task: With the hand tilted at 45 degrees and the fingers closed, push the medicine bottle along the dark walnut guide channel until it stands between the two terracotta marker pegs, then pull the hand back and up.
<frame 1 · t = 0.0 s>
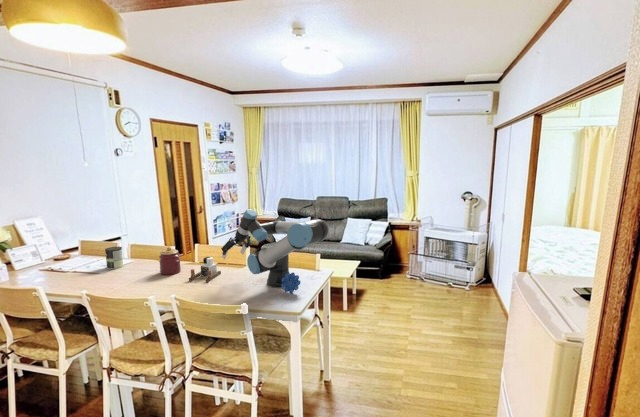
hand: (232, 255, 211), 15 cm above the table, tool tilted 35°, fingers open, 13 cm apart
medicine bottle: (209, 275, 220), on the table
coffee can: (115, 267, 239), on the table
grapes: (291, 292, 190), on the table
guide channel: (205, 277, 216), on the table
canister: (170, 272, 227), on the table
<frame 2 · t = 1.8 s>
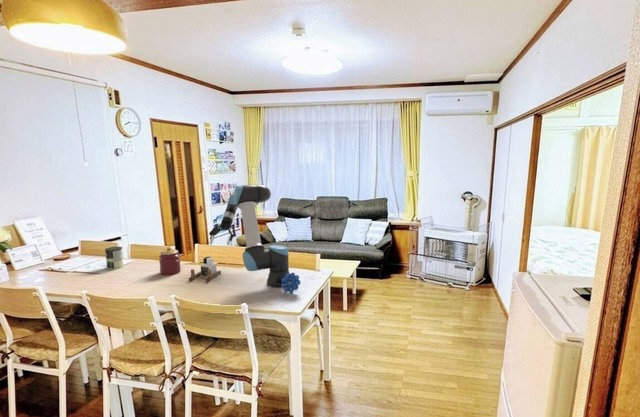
hand: (219, 244, 233), 17 cm above the table, tool tilted 45°, fingers open, 12 cm apart
nothing on the table moved.
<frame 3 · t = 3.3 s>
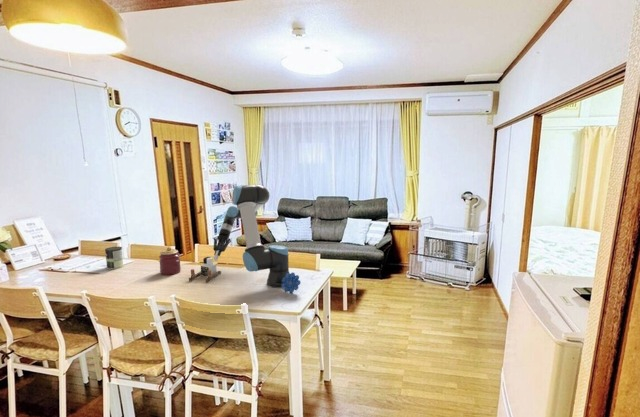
hand: (215, 259, 229), 7 cm above the table, tool tilted 45°, fingers closed
nothing on the table moved.
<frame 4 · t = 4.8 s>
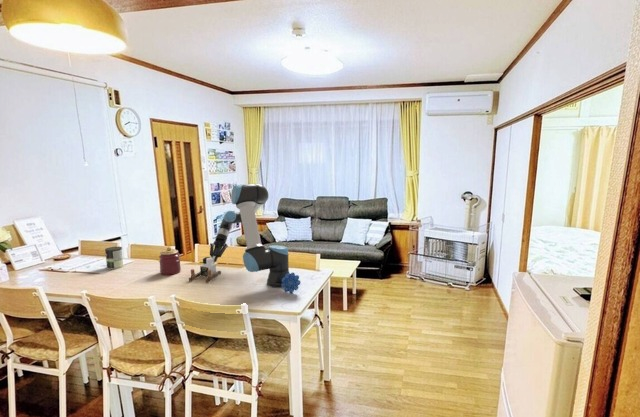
hand: (211, 265, 224), 5 cm above the table, tool tilted 45°, fingers closed
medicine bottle: (208, 275, 220), on the table, touching gripper
everything else where it was.
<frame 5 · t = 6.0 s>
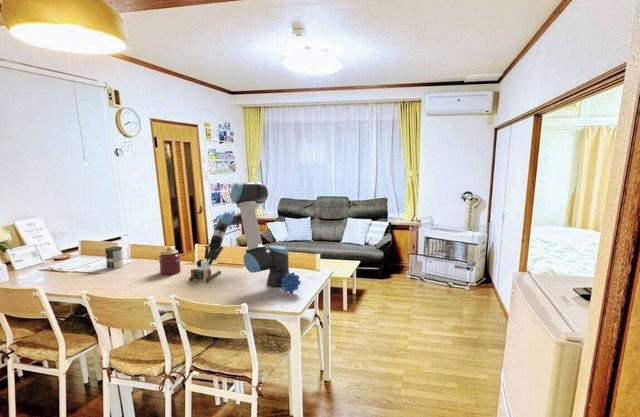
hand: (206, 268, 218), 5 cm above the table, tool tilted 45°, fingers closed
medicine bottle: (202, 278, 214), on the table, touching gripper
everything else where it was.
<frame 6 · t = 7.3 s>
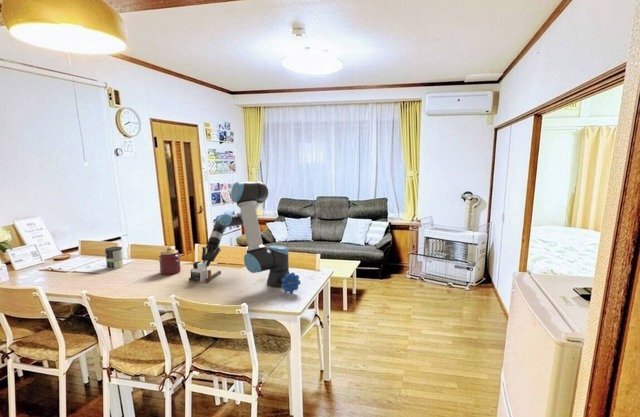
hand: (203, 270, 213), 5 cm above the table, tool tilted 45°, fingers closed
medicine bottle: (199, 281, 210), on the table, touching gripper
everything else where it was.
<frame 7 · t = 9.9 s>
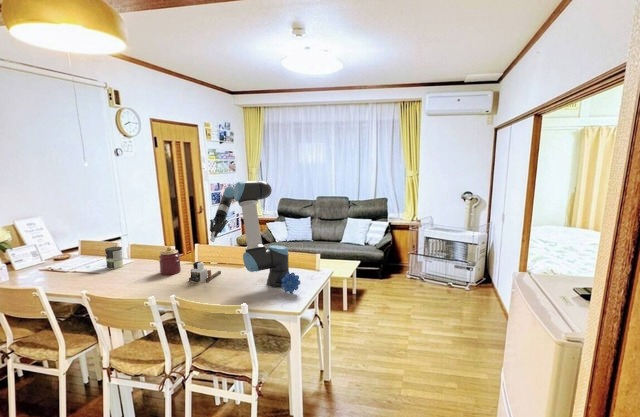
hand: (212, 240, 223), 22 cm above the table, tool tilted 45°, fingers closed
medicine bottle: (199, 281, 210), on the table
everything else where it was.
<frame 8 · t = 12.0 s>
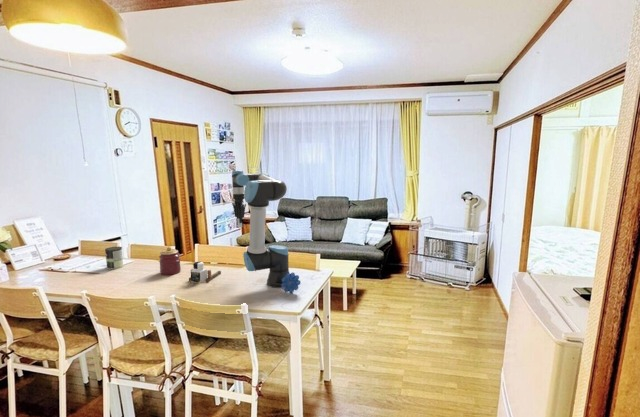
hand: (240, 227, 229), 29 cm above the table, tool pointing down, fingers closed
nothing on the table moved.
at the end: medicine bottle 0.9 cm from the target spot, on the table; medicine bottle tilted 0°; the gripper is holding nothing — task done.
